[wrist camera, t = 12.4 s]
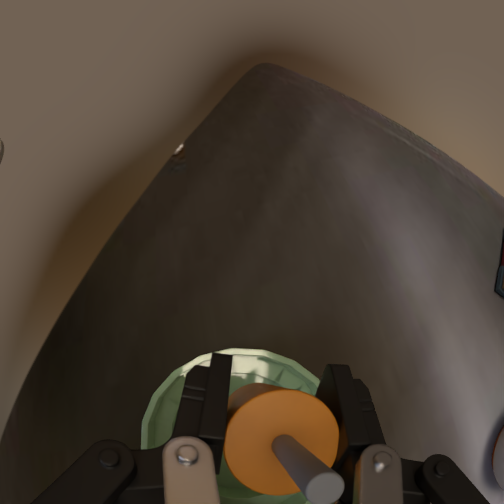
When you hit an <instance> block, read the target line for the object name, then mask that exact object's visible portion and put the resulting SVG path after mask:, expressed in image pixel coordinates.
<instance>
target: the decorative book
mask: <svg viewBox="0 0 504 504" xmlns="http://www.w3.org/2000/svg"><path fill="white" fill-rule="evenodd" d="M495 291H497V292H498V293H499V294H500V295H502V296H503V297H504V244H503V253H502V261H501V266H500V267H499V273H498V279H497V284H496V290H495Z"/></svg>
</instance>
